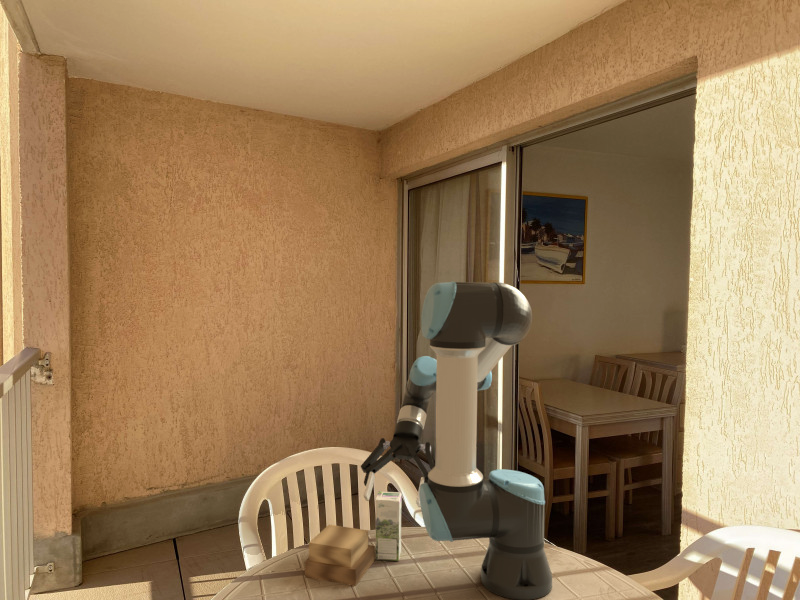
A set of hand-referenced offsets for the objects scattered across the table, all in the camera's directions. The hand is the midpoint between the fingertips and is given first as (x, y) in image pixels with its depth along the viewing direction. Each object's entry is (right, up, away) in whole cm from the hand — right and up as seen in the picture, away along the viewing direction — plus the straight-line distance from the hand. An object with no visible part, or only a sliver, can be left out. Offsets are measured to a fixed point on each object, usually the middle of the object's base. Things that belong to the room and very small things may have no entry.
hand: (391, 501), depth 139 cm
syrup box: (-1, -12, -4) cm, 12 cm away
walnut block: (-11, -12, -11) cm, 20 cm away
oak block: (-12, -8, -11) cm, 18 cm away
